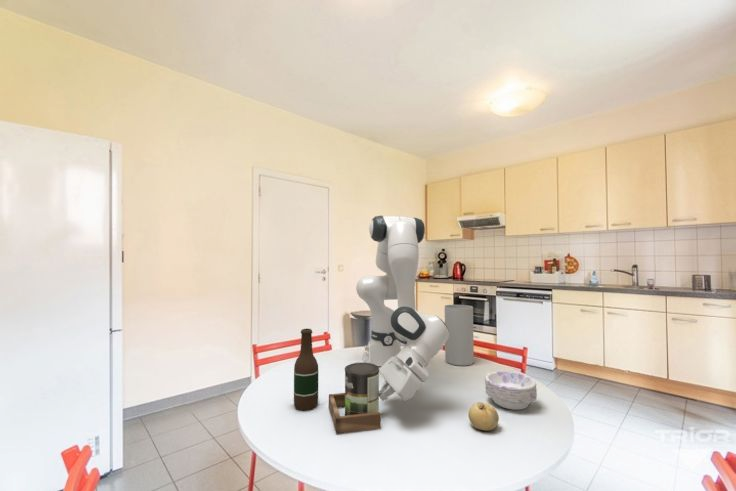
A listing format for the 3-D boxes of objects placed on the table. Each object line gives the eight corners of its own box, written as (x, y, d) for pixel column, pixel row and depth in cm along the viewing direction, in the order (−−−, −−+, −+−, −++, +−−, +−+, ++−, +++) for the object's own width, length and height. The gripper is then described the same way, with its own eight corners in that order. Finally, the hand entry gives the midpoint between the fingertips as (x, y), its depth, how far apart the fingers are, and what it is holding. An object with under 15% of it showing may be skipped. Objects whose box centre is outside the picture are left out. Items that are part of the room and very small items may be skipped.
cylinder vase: (441, 358, 154) (440, 304, 155) (466, 357, 155) (466, 304, 156) (450, 366, 141) (450, 308, 143) (478, 365, 143) (477, 308, 144)
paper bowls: (485, 410, 101) (484, 383, 101) (485, 391, 115) (485, 368, 115) (540, 418, 95) (539, 390, 96) (533, 397, 110) (533, 373, 110)
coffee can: (350, 427, 90) (350, 375, 91) (340, 411, 100) (340, 364, 100) (384, 421, 93) (384, 371, 94) (372, 406, 103) (372, 360, 104)
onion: (465, 419, 95) (464, 394, 95) (492, 420, 94) (492, 395, 95) (473, 434, 87) (472, 407, 87) (503, 435, 86) (503, 407, 87)
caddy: (328, 407, 102) (328, 394, 103) (366, 403, 105) (366, 390, 106) (336, 434, 87) (336, 418, 87) (380, 428, 89) (380, 413, 90)
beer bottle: (309, 398, 109) (309, 325, 110) (323, 405, 103) (323, 329, 105) (288, 405, 104) (289, 329, 105) (302, 414, 98) (302, 333, 99)
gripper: (392, 346, 110) (364, 378, 108) (416, 365, 91) (382, 405, 88) (405, 359, 111) (377, 391, 108) (431, 380, 92) (398, 420, 89)
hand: (380, 397), depth 98 cm, fingers closed, pressing on coffee can
